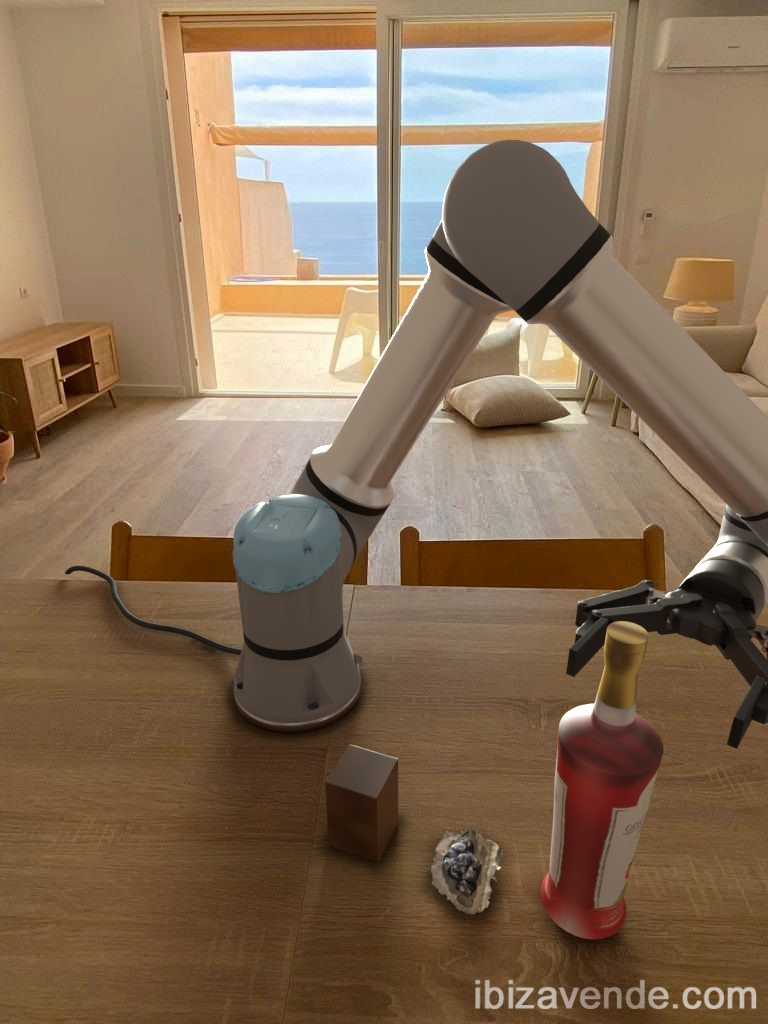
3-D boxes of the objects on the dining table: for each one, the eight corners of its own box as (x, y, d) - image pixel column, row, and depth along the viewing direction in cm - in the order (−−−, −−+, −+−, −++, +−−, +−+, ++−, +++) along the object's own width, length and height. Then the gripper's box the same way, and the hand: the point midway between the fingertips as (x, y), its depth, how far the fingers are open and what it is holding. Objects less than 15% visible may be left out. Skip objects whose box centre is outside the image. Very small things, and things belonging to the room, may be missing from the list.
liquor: (557, 856, 63) (593, 592, 51) (638, 899, 59) (698, 624, 47) (522, 919, 58) (554, 640, 46) (609, 971, 54) (668, 681, 42)
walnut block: (328, 845, 64) (324, 781, 61) (351, 805, 69) (348, 743, 65) (378, 864, 63) (376, 798, 59) (398, 821, 67) (398, 758, 63)
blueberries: (498, 834, 65) (499, 819, 65) (515, 914, 58) (516, 899, 57) (427, 835, 65) (427, 821, 64) (434, 916, 58) (435, 901, 57)
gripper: (855, 669, 66) (806, 807, 51) (606, 583, 81) (512, 671, 66) (879, 601, 63) (833, 728, 48) (615, 525, 78) (518, 604, 63)
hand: (647, 696), depth 57 cm, fingers open, 13 cm apart
